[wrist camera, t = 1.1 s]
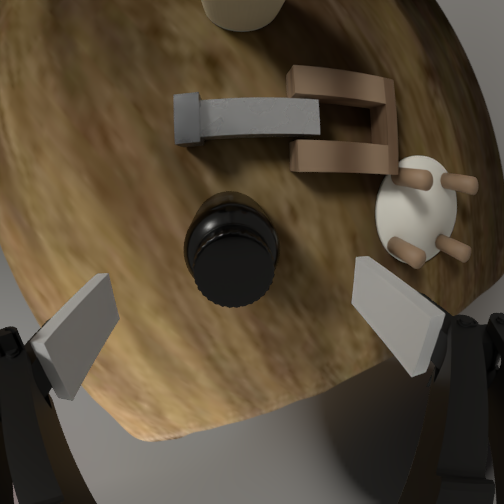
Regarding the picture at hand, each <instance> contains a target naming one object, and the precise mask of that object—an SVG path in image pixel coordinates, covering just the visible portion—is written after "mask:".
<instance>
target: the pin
mask: <svg viewBox="0 0 504 504" xmlns="http://www.w3.org/2000/svg"><path fill="white" fill-rule="evenodd" d="M174 132H175V144H176V145H178V146H181V147H192V146H203V145H204V140H214V139H230V138H255V137H306V138H310V137H314V136H317V135H320V117H319V101H318V100H316V99H300V98H228V99H212V100H201V97H200V95H199V92H195V93H185V94H177V95H174Z"/></svg>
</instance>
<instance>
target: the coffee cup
mask: <svg viewBox="0 0 504 504" xmlns="http://www.w3.org/2000/svg"><path fill="white" fill-rule="evenodd" d="M201 1H202V4H203V7H204V10H205V13H206V15H207V16H208V18H209V19H210V20H211V21H212V22H213V23H214V24H216V25H218V26H219V27H221V28H224V29H227V30H231V31H239V32H246V31H253V30H257V29H260V28H262V27H264V26H266V25H268V24H269V23H270V22H271V21H272V20H273V19H274V18H275V17H276V15H277V14H278V12H279V10H280V9H281V7H282V5H283V3H284V2H285V0H201Z"/></svg>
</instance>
